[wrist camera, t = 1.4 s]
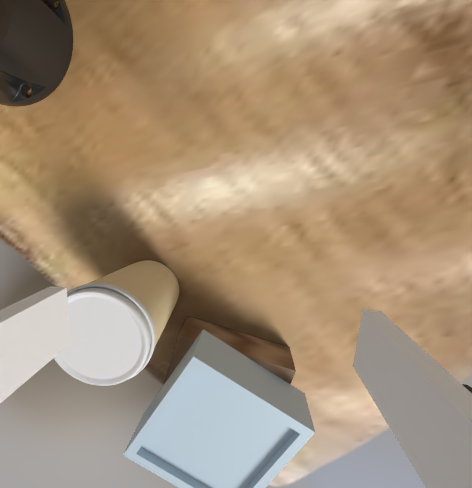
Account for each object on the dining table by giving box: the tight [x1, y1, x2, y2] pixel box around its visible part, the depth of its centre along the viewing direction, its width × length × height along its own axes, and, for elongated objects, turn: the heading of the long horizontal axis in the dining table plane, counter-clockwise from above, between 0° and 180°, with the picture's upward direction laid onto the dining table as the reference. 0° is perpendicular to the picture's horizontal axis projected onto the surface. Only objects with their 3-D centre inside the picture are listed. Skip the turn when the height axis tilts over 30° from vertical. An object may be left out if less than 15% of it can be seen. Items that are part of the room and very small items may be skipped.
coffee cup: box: [54, 260, 179, 386], centre depth 27 cm, size 9×9×12 cm
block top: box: [124, 329, 315, 488], centre depth 28 cm, size 14×14×5 cm
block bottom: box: [165, 317, 295, 384], centre depth 33 cm, size 14×14×5 cm
